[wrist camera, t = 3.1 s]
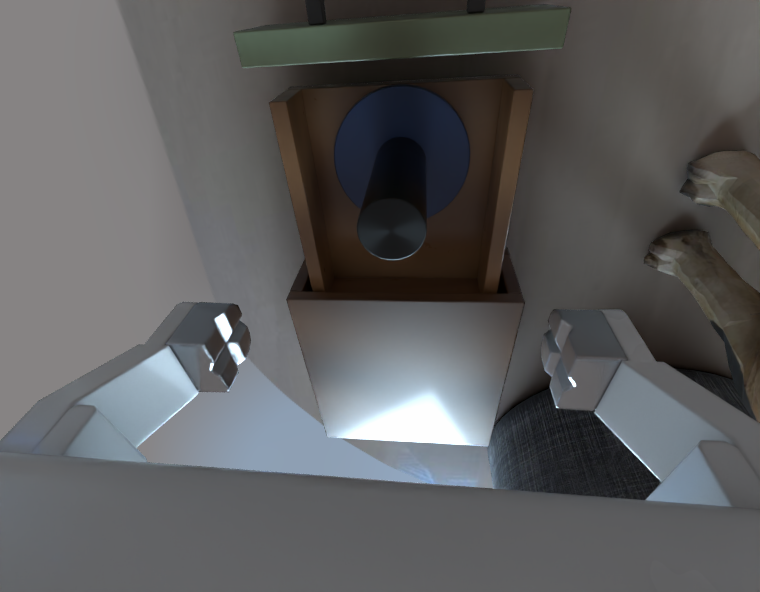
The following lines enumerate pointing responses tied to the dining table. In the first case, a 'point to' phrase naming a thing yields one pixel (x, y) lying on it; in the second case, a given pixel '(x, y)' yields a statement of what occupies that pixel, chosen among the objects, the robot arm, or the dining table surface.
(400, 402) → the cabinet
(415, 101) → the lid
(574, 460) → the planter
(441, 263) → the drawer
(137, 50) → the dining table surface
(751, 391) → the figurine
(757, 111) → the dining table surface
